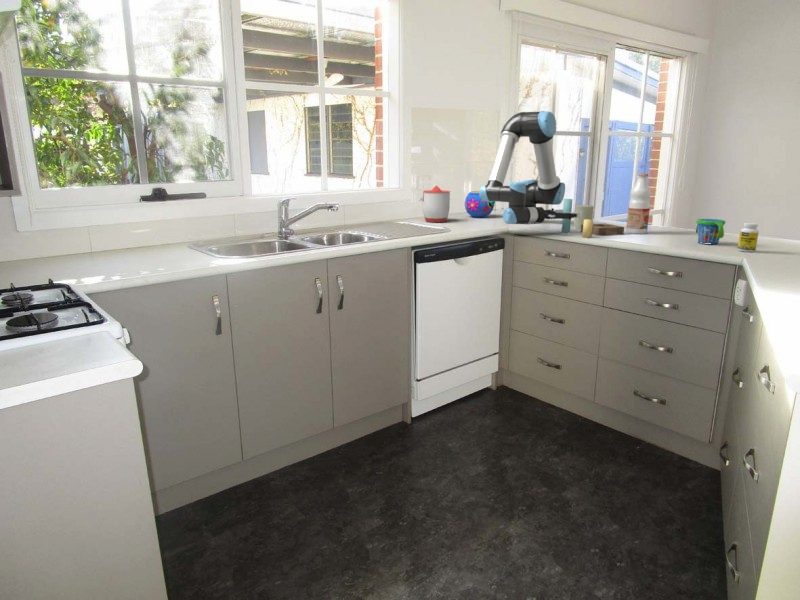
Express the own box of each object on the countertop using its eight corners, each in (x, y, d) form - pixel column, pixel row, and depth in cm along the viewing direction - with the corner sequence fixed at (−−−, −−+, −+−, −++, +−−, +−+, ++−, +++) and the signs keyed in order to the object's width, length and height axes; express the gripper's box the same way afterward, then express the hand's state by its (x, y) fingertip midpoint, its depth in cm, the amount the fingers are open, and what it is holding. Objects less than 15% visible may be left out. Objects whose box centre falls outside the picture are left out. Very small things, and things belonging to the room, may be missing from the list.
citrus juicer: (419, 219, 324) (419, 184, 319) (449, 219, 323) (449, 184, 318) (418, 223, 309) (419, 186, 304) (450, 223, 308) (451, 186, 303)
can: (588, 230, 281) (590, 206, 278) (570, 228, 286) (572, 205, 283) (594, 228, 288) (596, 204, 285) (577, 226, 293) (578, 203, 290)
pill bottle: (736, 251, 222) (741, 223, 219) (737, 249, 227) (742, 221, 224) (755, 253, 218) (759, 224, 216) (755, 250, 223) (760, 223, 221)
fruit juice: (624, 231, 277) (630, 173, 269) (644, 231, 275) (651, 173, 267) (627, 234, 268) (634, 174, 260) (648, 234, 266) (655, 174, 259)
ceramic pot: (492, 219, 326) (493, 193, 322) (462, 218, 330) (463, 192, 326) (495, 215, 342) (496, 190, 338) (466, 215, 346) (466, 190, 342)
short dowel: (580, 236, 260) (581, 219, 258) (587, 236, 261) (589, 219, 259) (585, 238, 256) (587, 220, 254) (593, 237, 257) (594, 220, 255)
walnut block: (580, 231, 276) (581, 224, 275) (604, 230, 280) (605, 223, 279) (598, 235, 263) (599, 228, 262) (623, 234, 267) (624, 226, 266)
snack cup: (686, 240, 248) (689, 217, 245) (710, 240, 248) (713, 217, 245) (704, 246, 233) (708, 222, 230) (730, 246, 233) (733, 222, 230)
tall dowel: (559, 231, 275) (562, 199, 271) (566, 231, 277) (569, 198, 272) (564, 232, 272) (567, 199, 268) (571, 232, 273) (574, 199, 269)
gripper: (521, 220, 279) (558, 218, 285) (547, 226, 256) (587, 224, 263) (522, 204, 277) (559, 203, 283) (548, 209, 254) (589, 208, 261)
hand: (573, 213), depth 273 cm, fingers open, 12 cm apart
